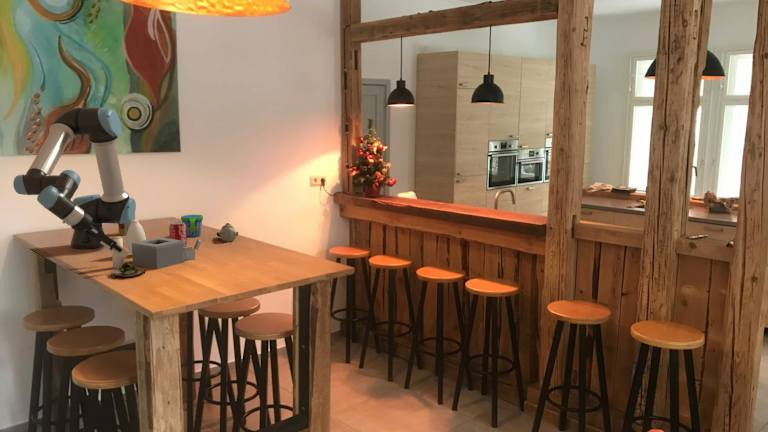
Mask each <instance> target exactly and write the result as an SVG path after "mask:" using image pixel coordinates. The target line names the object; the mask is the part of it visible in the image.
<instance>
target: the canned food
mask: <svg viewBox="0 0 768 432" xmlns="http://www.w3.org/2000/svg"><path fill="white" fill-rule="evenodd" d="M133 220H134V218H133ZM131 223H132V221H131V222H130V223H123V224H118V235H119V236H126V235H127V231H128V228H129V226H130V224H131Z"/></svg>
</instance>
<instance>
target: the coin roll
mask: <svg viewBox="0 0 768 432" xmlns="http://www.w3.org/2000/svg"><path fill="white" fill-rule="evenodd" d="M110 238H111V239H112V240H114V241H115V242H117V244H118V245H120V246H121V247H122V248H123V249H124V245H123V242H124V241H123V239H124V238H123V236H112V237H110ZM112 244H113V243H112ZM111 254H112V255H111V257H112V258H111V259H112V269H114V270H116V269H117V268H118V269H119V267H121V263H122V262H123V261H124V260H125V259H124V258H123V257H122V256H120V255H119V254H118V253H116V252H115V251H114V250H113V249H112V252H111Z"/></svg>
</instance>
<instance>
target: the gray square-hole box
mask: <svg viewBox="0 0 768 432" xmlns="http://www.w3.org/2000/svg"><path fill="white" fill-rule="evenodd" d="M131 260H132V261H133V264H132V265H134V266H137V267H139V266H140V267H142V268H143V267H144V268H148V267H149V268H150V269H155V270H159V268H160V269H163V268H167V267H171V266H173V265H177V264H182V263H184V262H185V260H184V244H183V241H182V240H175V239H170V238H167V237H161V236H159V237H154V238H149V239H148V238H147V239H146V240H143V241H138V242H133V243H132V253H131ZM149 268H148V269H149Z"/></svg>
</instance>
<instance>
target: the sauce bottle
mask: <svg viewBox="0 0 768 432" xmlns="http://www.w3.org/2000/svg"><path fill="white" fill-rule="evenodd" d="M125 236H126V237H125V244H126V248H127V251H128V252H129V254H132V243H133V242H138V241H143V240H147V238H146V233H145V230H144V228H143V226H142V225H141V223H140V222H139V220H138V219H137V218H136V214H135V215H134V220H132V223H131V224H130V226H129V228H128V231H127V235H125Z"/></svg>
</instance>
